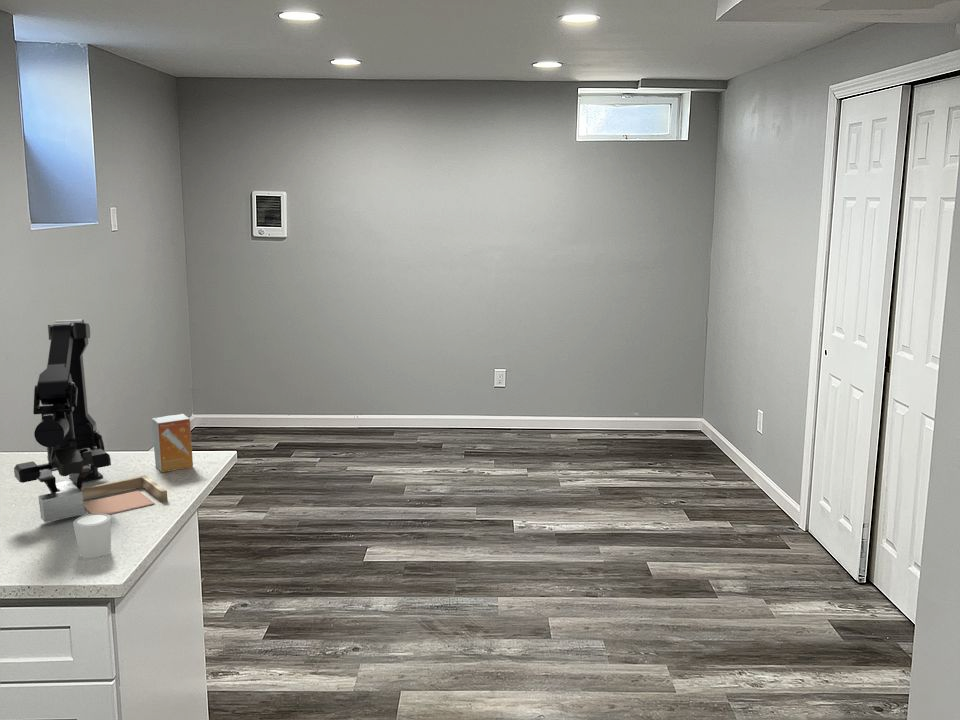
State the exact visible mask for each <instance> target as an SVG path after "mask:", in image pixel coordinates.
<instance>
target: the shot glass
mask: <svg viewBox="0 0 960 720" xmlns="http://www.w3.org/2000/svg"><path fill="white" fill-rule="evenodd" d="M72 524H73V525H72V526H73V529H74V533H75V538H76V543H77V548H78V552H79V555H80V557H81V558H82V557H83V559H90V558H91V559H95V558H94V557H98V558H101V557H100V556H102V557H104V556H103V555H105V556H107V555H109V554H110V553H111V551H110V550H112V544H111V543H112V530H111V529H112V516H111V514H110V515H107V514H90V513H89V514H87V515H85V514H84V515H83V516H79V517H78V518H76V519H74V520H73V522H72ZM109 552H110V553H109ZM106 554H107V555H106Z"/></svg>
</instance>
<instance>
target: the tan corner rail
mask: <svg viewBox="0 0 960 720" xmlns="http://www.w3.org/2000/svg"><path fill="white" fill-rule="evenodd" d="M136 488H137V489H141V488H143V489H144V488H145V490H146V491H147V492H148V493H149V494H151V495H152V496H154V497H155V498H156V499H158V500H159V501H160V502H162V503H165V502H168V501H169V500H168V499H169V498H168V490H167V489H165V488H164V487H163V486H161V485H160V484H158V483H157V482H155V481H154V480H153V479H151V478H150V477H149V476H147V475H146V474H143V475H138V476H134V477H129V478H124V479H119V480H116V481H115V480H114V481H110V482H104V483H101V484H100V483H99V484H95V485H91V486H90V485H89V486H86V487H81V491H82V495H83V501H86V500H89V499H93V498H94V499H95V498H99V497H103V496H108V495H113V494H117V493H122V491H123V492H127V490H128V491H132V490H136Z"/></svg>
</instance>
